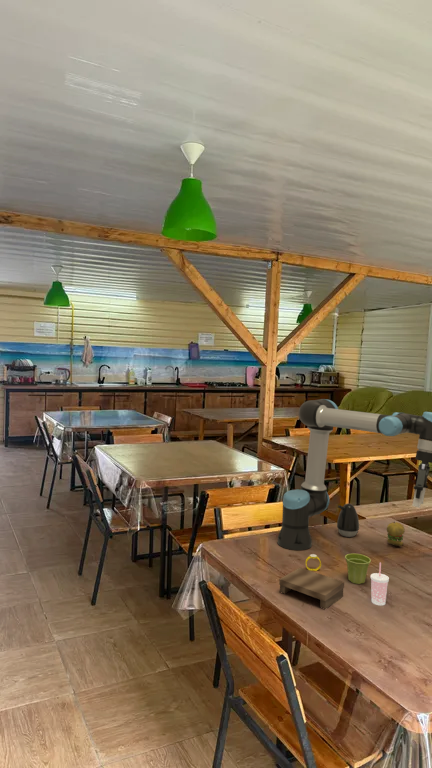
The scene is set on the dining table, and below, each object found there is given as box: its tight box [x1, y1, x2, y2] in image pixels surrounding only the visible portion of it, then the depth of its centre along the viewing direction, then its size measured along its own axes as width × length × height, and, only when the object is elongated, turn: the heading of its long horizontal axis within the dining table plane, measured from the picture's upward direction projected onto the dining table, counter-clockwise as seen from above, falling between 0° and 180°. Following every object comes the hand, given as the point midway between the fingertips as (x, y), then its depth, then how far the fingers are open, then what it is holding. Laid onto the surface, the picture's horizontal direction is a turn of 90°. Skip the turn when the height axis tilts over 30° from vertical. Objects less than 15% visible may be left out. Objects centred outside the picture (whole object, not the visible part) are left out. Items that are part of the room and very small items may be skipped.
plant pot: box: [344, 553, 372, 585], centre depth 194 cm, size 9×9×9 cm
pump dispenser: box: [336, 503, 360, 538], centre depth 243 cm, size 10×10×15 cm
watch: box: [304, 553, 322, 572], centre depth 203 cm, size 6×3×6 cm, turn 88°
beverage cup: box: [370, 562, 390, 606], centre depth 177 cm, size 6×6×14 cm
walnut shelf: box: [278, 566, 345, 610], centre depth 182 cm, size 18×14×5 cm
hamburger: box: [386, 520, 406, 547], centre depth 231 cm, size 8×7×12 cm
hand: (417, 505), depth 201 cm, fingers open, 13 cm apart
